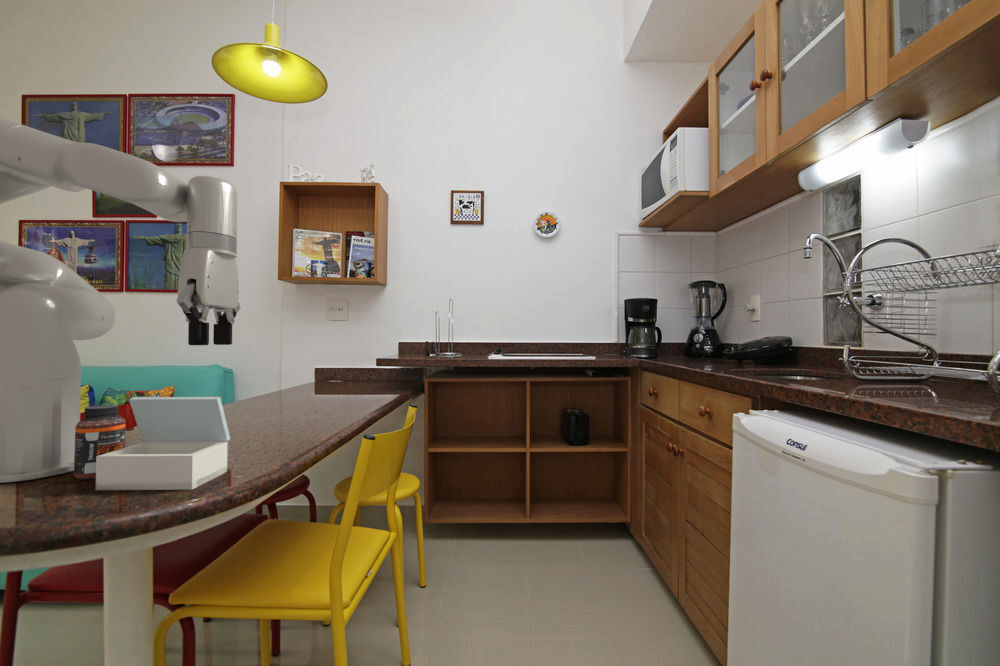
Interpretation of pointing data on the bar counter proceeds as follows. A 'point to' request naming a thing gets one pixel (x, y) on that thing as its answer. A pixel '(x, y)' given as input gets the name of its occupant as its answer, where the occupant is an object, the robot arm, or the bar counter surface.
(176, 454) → the white hinged box
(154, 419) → the cover
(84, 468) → the supplement bottle
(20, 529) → the bar counter surface
